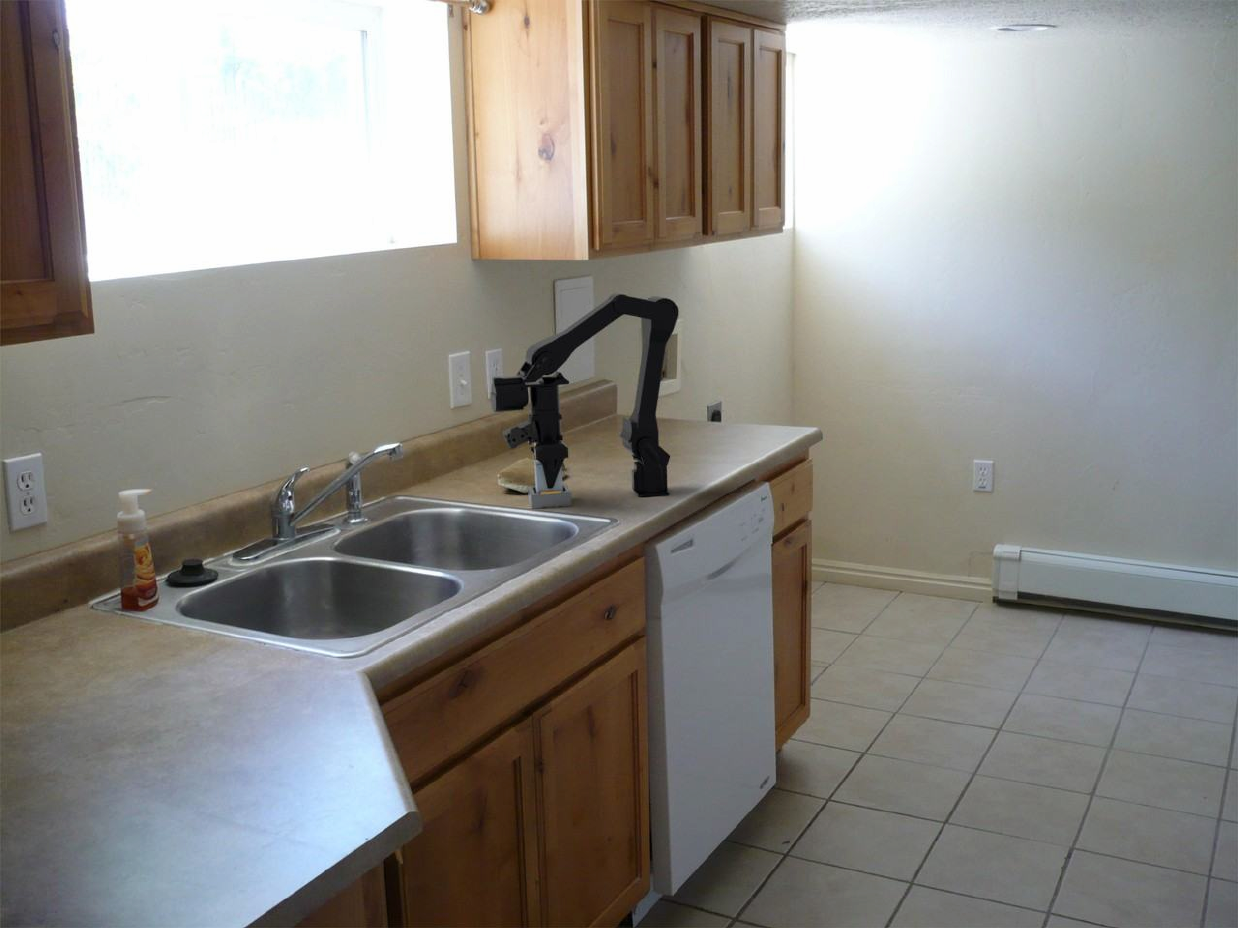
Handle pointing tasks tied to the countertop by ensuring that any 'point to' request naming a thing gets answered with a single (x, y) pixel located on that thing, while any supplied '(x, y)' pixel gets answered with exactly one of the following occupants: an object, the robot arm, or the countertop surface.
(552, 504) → the rack
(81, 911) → the countertop surface
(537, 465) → the pale blue upright block
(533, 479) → the stone tool
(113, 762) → the countertop surface
